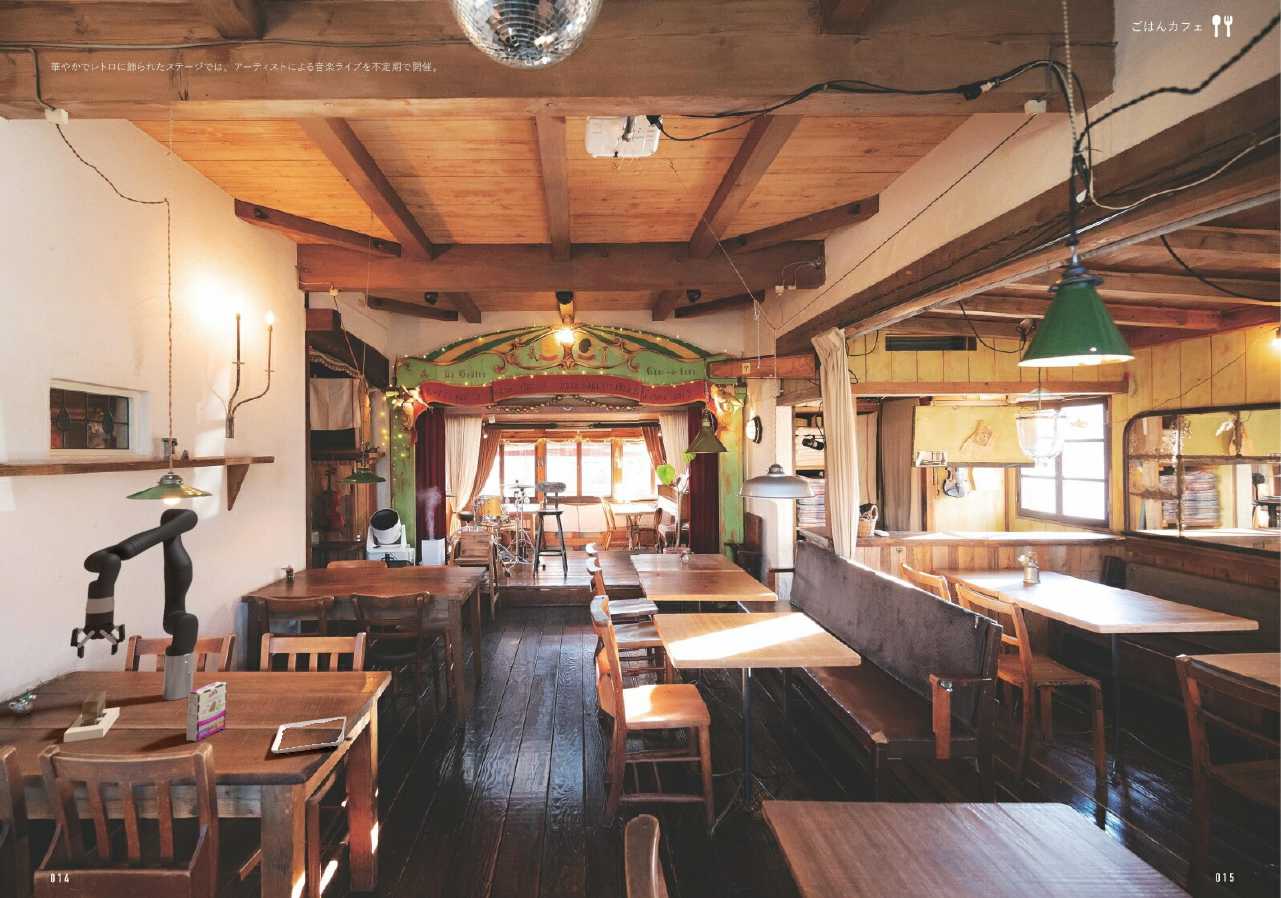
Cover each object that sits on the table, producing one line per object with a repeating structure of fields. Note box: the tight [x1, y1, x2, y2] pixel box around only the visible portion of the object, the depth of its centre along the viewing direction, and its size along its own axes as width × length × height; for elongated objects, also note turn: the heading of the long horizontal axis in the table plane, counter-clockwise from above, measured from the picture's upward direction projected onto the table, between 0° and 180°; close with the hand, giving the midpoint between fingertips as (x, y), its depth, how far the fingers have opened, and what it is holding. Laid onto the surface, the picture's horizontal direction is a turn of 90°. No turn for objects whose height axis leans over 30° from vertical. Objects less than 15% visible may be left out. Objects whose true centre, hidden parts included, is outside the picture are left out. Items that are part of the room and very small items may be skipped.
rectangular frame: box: [270, 715, 347, 755], centre depth 208 cm, size 21×21×3 cm
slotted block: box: [63, 706, 121, 744], centre depth 212 cm, size 10×20×3 cm, turn 29°
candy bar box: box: [185, 680, 228, 742], centre depth 211 cm, size 11×5×16 cm, turn 168°
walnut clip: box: [81, 690, 107, 727], centre depth 212 cm, size 4×10×11 cm, turn 29°
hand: (97, 656), depth 213 cm, fingers open, 8 cm apart
